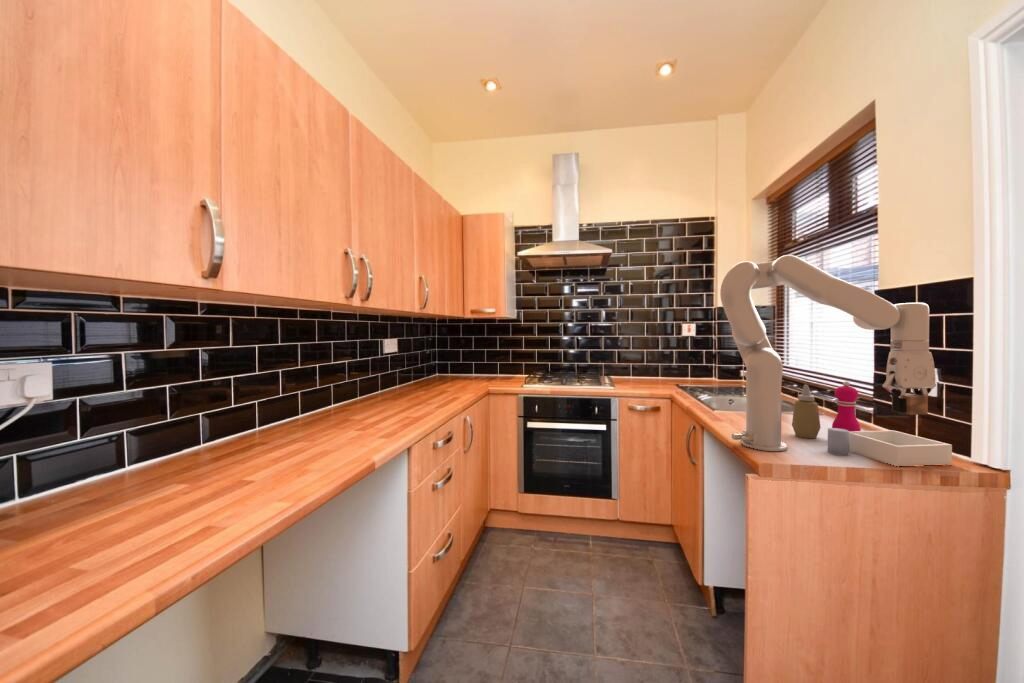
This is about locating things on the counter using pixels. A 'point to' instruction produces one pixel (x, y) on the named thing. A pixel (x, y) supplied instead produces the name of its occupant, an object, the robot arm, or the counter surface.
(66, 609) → the counter surface
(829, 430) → the grey upright block
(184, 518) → the counter surface
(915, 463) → the tray
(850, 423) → the pepper mill
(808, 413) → the squeeze bottle
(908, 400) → the walnut cube
